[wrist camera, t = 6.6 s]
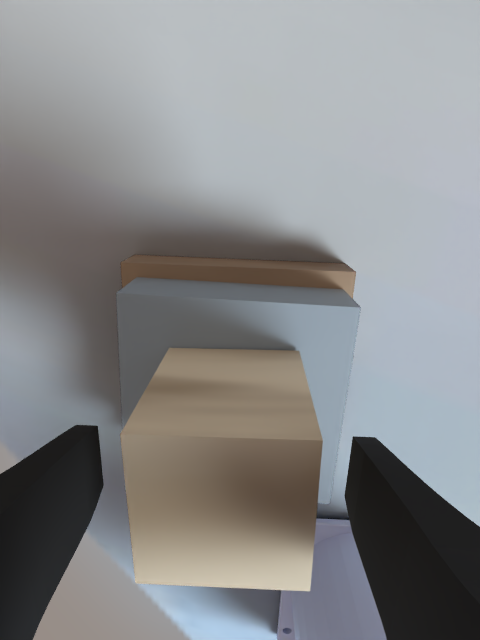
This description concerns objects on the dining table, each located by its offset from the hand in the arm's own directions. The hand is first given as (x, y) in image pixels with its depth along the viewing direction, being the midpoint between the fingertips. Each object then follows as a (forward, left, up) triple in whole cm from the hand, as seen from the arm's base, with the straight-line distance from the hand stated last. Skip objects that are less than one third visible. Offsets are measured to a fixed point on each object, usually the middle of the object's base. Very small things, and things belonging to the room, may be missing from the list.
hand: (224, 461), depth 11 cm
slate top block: (0, 0, -6) cm, 6 cm away
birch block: (0, 0, -3) cm, 3 cm away
